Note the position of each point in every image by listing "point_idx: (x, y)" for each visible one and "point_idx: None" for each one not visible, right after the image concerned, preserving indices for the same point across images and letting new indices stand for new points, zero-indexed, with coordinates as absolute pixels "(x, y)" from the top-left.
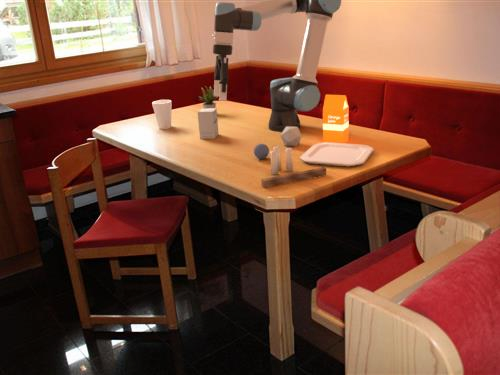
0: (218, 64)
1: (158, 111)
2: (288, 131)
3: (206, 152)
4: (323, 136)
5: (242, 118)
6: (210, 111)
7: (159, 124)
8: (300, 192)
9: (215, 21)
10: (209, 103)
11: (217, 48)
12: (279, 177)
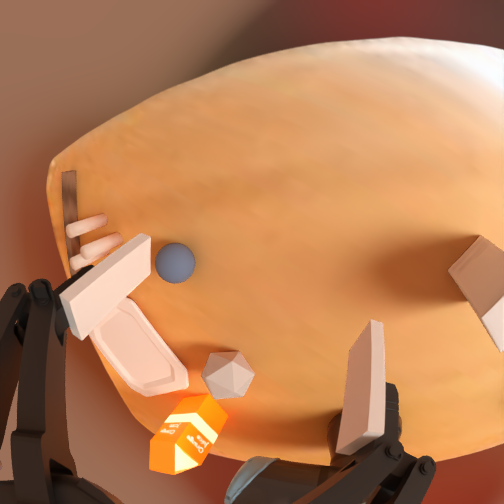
0: (33, 489)
1: None
2: (208, 373)
3: (337, 166)
4: (201, 403)
5: (497, 403)
6: (490, 312)
7: None
8: (51, 207)
9: None
10: None
11: None
12: (63, 201)
